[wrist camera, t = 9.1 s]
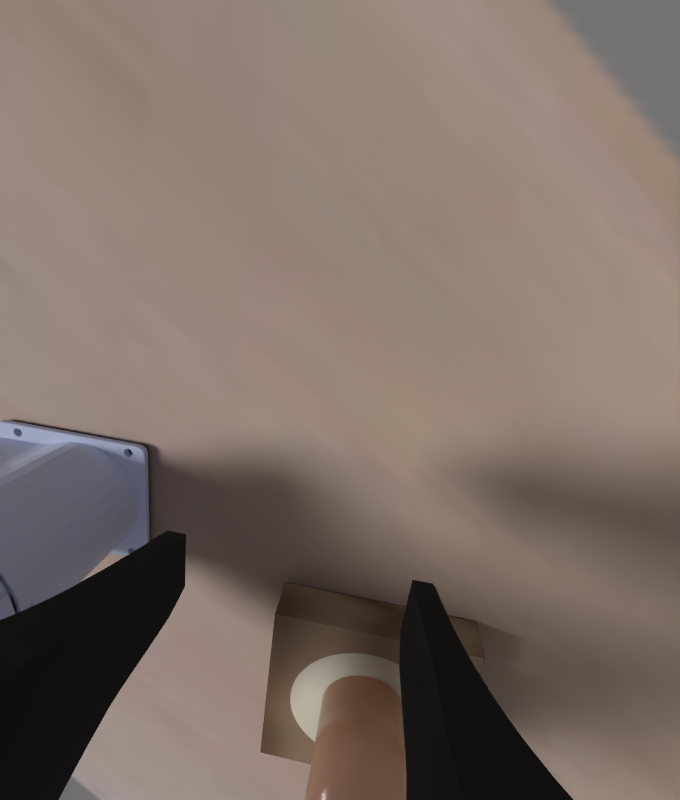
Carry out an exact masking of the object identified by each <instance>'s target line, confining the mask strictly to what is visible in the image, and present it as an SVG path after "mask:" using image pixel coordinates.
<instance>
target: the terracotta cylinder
mask: <svg viewBox="0 0 680 800" xmlns="http://www.w3.org/2000/svg"><path fill="white" fill-rule="evenodd" d="M305 800H406V765H405V742H404V728H403V715H402V701H401V698H400V696H399V695H398V694H397V692H396V691H395V690H394V689H393V688H391V687H390V686H389V685H387V684H386V683H384V682H382V681H380V680H377V679H375V678H371V677H367V676H347V677H343V678H340V679H338V680H336V681H334V682H333V683H331V684H330V685H329V686H328V687H327V688H326V690H325V692H324V694H323V698H322V704H321V710H320V716H319V722H318V727H317V733H316V739H315V745H314V751H313V756H312V762H311V768H310V774H309V780H308V785H307V791H306V797H305Z"/></svg>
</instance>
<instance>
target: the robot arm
mask: <svg viewBox="0 0 680 800" xmlns="http://www.w3.org/2000/svg"><path fill="white" fill-rule="evenodd" d="M20 431H21V432H22V433H21V432H20ZM128 449H130V450H131V451H132V453H133V454H131V453H130V452H129V450H128ZM133 549H134V550H135V551H134V550H133ZM185 551H186V534H181V533H176V532H171V531H166V532H165V533H163V534H161V535H159V536H158V537H156V538H155V539H153V540H151V541H150V534H149V482H148V452H147V449H146V448H145V447H144V446H143V445H140V444H135V443H130V442H124V441H119V440H113V439H108V438H102V437H97V436H91V435H86V434H81V433H75V432H70V431H64V430H59V429H53V428H48V427H42V426H37V425H31V424H26V423H21V422H15V421H10V420H2V421H0V800H59V798H60V796H61V794H62V792H63V790H64V788H65V786H66V784H67V782H68V781H69V779H70V777H71V775H72V773H73V771H74V770H75V768H76V766H77V764H78V762H79V760H80V758H81V757H82V755H83V753H84V751H85V749H86V747H87V745H88V744H89V742H90V740H91V738H92V737H93V735H94V733H95V731H96V729H97V728H98V726H99V724H100V722H101V721H102V719H103V717H104V715H105V713H106V712H107V710H108V708H109V706H110V705H111V703H112V702H113V700H114V699H115V697H116V695H117V694H118V692H119V691H120V689H121V688H122V686H123V685H124V683H125V682H126V680H127V679H128V677H129V676H130V674H131V673H132V671H133V670H134V668H135V667H136V665H137V664H138V662H139V661H140V660H141V658H142V657H143V655H144V654H145V652H146V651H147V649H148V648H149V646H150V645H151V643H152V642H153V640H154V639H155V637H156V636H157V634H158V633H159V631H160V630H161V628H162V627H163V625H164V624H165V622H166V621H167V619H168V618H169V616H170V614H171V612H172V610H173V608H174V607H175V605H176V603H177V601H178V599H179V597H180V595H181V593H182V591H183V589H184V587H185ZM109 553H113V554H118V555H123V556H125V557H124V558H122V559H120V560H119V561H117V562H115V563H114V564H112V565H110V566H109V567H107V568H105V569H104V570H102V571H100V572H98V573H96V574H95V575H93V576H91V577H89V578H87V579H85V580H84V581H82V580H83V579H84V578H85V577H86V576H87V575H88V574H89V573H90V572H91V571H92V570H93V569H94V568H95V567H96V566H97V565H98V564H99V563H100V562H101V561H102V560H103V559H104V558H105V557H106V556H107V555H108V554H109ZM81 581H82V582H81ZM399 672H400V687H401V701H402V715H403V728H404V742H405V755H406V800H573V799H572V798H571V796H570V795H569V794H568V793H567V792H566V791H565V790H564V789H563V787H562V786H561V785H560V784H559V783H558V782H557V781H556V779H555V778H554V777H553V776H552V775H551V773H550V772H549V771H548V770H547V768H546V767H545V766H544V765H543V763H542V762H541V761H540V760H539V758H538V757H537V756H536V755H535V753H534V752H533V751H532V750H531V748H530V747H529V746H528V745H527V743H526V742H525V741H524V740H523V738H522V737H521V735H520V734H519V733H518V731H517V730H516V729H515V727H514V726H513V724H512V723H511V722H510V720H509V719H508V717H507V716H506V715H505V713H504V712H503V710H502V709H501V707H500V706H499V704H498V703H497V701H496V700H495V698H494V697H493V695H492V694H491V692H490V691H489V689H488V687H487V686H486V684H485V683H484V681H483V679H482V678H481V676H480V674H479V673H478V671H477V669H476V668H475V666H474V664H473V662H472V661H471V659H470V657H469V655H468V654H467V652H466V650H465V648H464V646H463V644H462V642H461V641H460V639H459V637H458V635H457V633H456V631H455V629H454V627H453V625H452V623H451V621H450V619H449V617H448V615H447V613H446V610H445V608H444V606H443V604H442V602H441V599H440V597H439V595H438V592H437V590H436V588H435V586H434V585H433V584H431V583H426V582H421V581H416V580H412V584H411V589H410V593H409V597H408V601H407V605H406V610H405V614H404V618H403V622H402V626H401V631H400V657H399Z"/></svg>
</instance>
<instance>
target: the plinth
mask: <svg viewBox="0 0 680 800" xmlns="http://www.w3.org/2000/svg"><path fill="white" fill-rule="evenodd" d="M405 610H406V607H403V606H398V605H393V604H389V603H384V602H379V601H374V600H369V599H364V598H359V597H354V596H350V595H345V594H340V593H335V592H330V591H325V590H320V589H316V588H311V587H306V586H301V585H296V584H291V583H286V584H285V587H284V590H283V593H282V595H281V598H280V601H279V604H278V607H277V610H276V613H275V620H274V629H273V639H272V648H271V657H270V667H269V676H268V686H267V695H266V705H265V714H264V723H263V733H262V742H261V752H262V753H266V754H270V755H274V756H279V757H283V758H287V759H291V760H295V761H299V762H304V763H308V764H311V762H312V756H313V751H314V745H315V739H316V733H317V727H318V722H319V716H320V710H321V704H322V698H323V694H324V692H325V690H326V688H327V687H328V686H329V685H330V684H331V683H333V682H334V681H336V680H338V679H340V678H343V677H347V676H367V677H371V678H375V679H377V680H380V681H382V682H384V683H386V684H387V685H389V686H390V687H391V688H393V689H394V690H395V691H396V692H397V694H398V695H399V696H400V698H401V687H400V672H399V657H400V631H401V626H402V622H403V618H404V614H405ZM448 617H449V619H450V621H451V623H452V625H453V627H454V629H455V631H456V633H457V635H458V637H459V639H460V641H461V642H462V644H463V646H464V648H465V650H466V652H467V654H468V655H469V657H470V659H471V661H472V662H473V664H474V666H475V668H476V669H477V671H478V673H479V674H480V673H481V670H482V667H483V664H484V661H485V656H484V651H483V647H482V643H481V639H480V635H479V631H478V626H477V622H476V621H471V620H466V619H462V618H457V617H452V616H448ZM405 765H406V755H405Z"/></svg>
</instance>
